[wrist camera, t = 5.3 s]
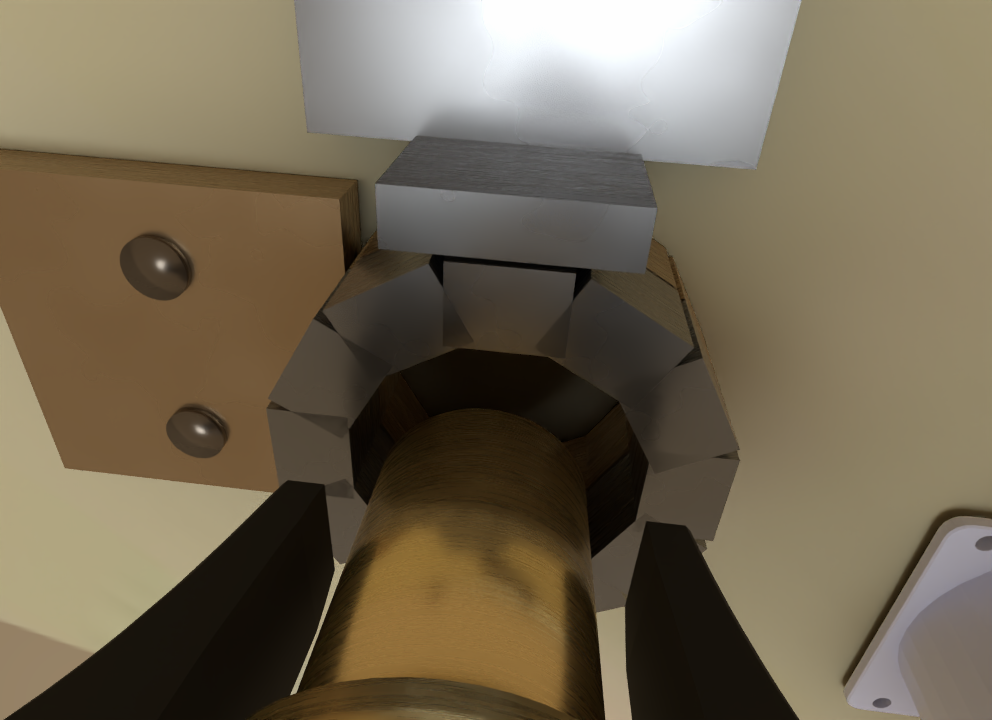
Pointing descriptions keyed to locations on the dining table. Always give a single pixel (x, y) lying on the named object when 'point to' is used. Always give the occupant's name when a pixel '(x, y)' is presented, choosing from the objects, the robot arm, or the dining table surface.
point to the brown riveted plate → (190, 311)
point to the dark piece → (529, 229)
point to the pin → (463, 586)
